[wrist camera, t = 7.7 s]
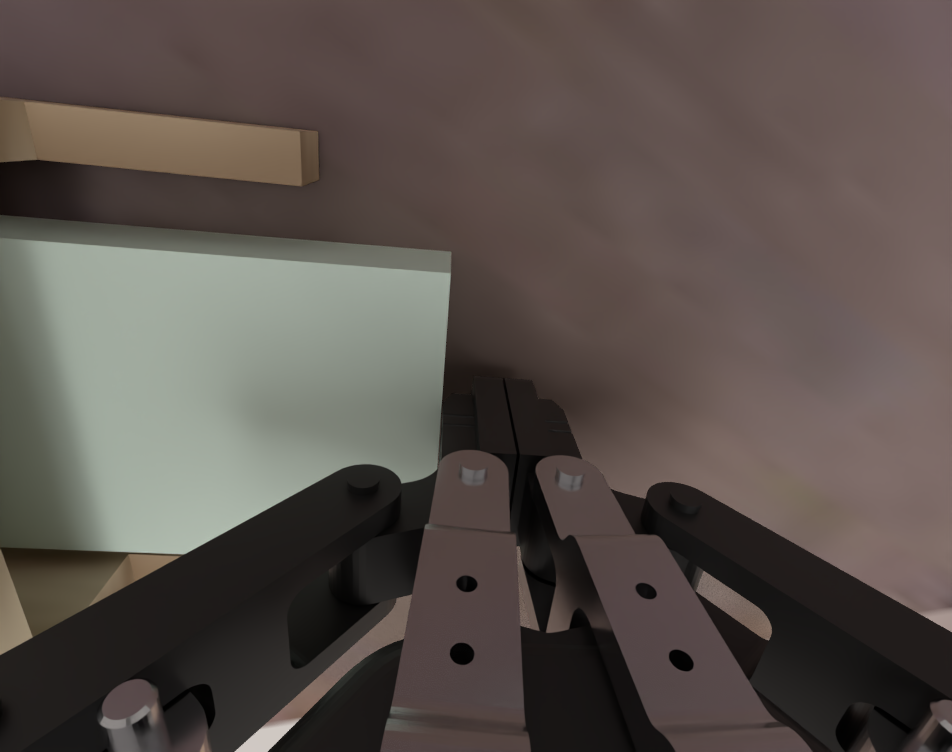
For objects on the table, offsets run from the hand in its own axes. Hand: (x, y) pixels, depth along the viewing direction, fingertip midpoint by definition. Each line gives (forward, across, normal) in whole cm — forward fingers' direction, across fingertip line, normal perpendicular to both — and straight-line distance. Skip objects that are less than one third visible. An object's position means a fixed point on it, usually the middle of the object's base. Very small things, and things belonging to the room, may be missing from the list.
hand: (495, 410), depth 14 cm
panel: (+1, +9, 0) cm, 9 cm away
